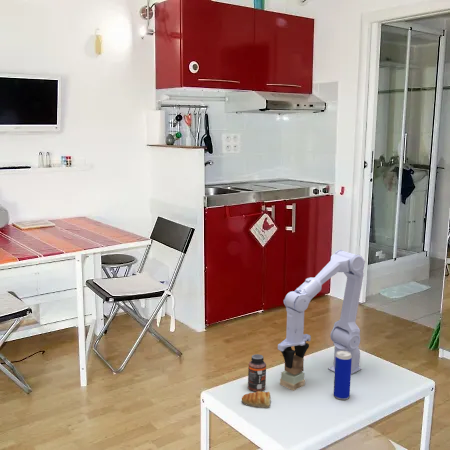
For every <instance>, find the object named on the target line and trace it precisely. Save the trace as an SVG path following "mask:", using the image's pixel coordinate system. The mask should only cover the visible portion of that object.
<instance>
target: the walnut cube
mask: <svg viewBox="0 0 450 450" xmlns="http://www.w3.org/2000/svg"><path fill="white" fill-rule="evenodd" d="M304 361H305V359H304V358H301V357H299V356H296V355H295V354H294V357H293V364H292V368H291V369H290V368H287V367H286V364H285V363H284V371H287V372H289V373H291V374H294V375H295V374H298V373H300V372H304Z"/></svg>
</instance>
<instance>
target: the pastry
mask: <svg viewBox="0 0 450 450" xmlns="http://www.w3.org/2000/svg"><path fill="white" fill-rule="evenodd" d="M241 402H242V403H243V404H244V405H246V404H247V405H246V406H250V407H253V408H262V409H267V408H270V407H271V402H272V398H271V392H270V391H253V392H249V393H246V394H243V396H242V397H241Z"/></svg>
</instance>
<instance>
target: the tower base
mask: <svg viewBox="0 0 450 450" xmlns="http://www.w3.org/2000/svg"><path fill="white" fill-rule="evenodd" d="M279 385H280V386H282V387H285V388H287V389H289V390H291V391H292V392H295V391H296V390H298V389H300V388H303V387H305V385H306V379H305V378H304V380H302V381H300V382H298V383H296V384H294V385H293V384H291V383H289V382H286V381H284V380H282V379H281V378H279Z"/></svg>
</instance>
